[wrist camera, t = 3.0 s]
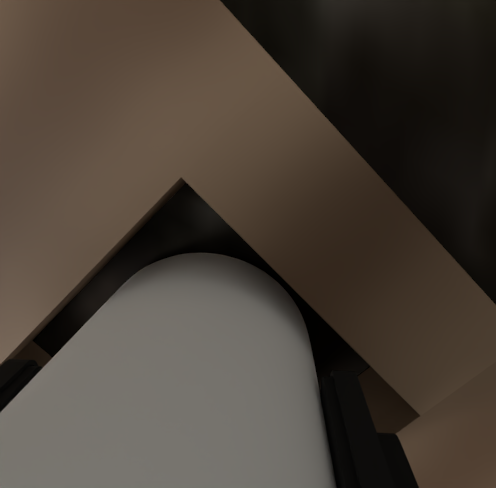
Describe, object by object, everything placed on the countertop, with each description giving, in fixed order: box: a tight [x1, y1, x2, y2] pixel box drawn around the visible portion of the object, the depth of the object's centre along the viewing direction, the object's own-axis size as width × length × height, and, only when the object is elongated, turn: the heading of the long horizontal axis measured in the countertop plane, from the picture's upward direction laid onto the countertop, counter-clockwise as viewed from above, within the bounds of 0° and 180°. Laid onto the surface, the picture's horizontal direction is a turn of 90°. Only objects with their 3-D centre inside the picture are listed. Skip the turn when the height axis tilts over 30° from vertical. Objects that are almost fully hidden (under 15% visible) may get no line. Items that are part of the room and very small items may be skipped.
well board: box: [0, 0, 496, 488], centre depth 12 cm, size 18×14×3 cm
